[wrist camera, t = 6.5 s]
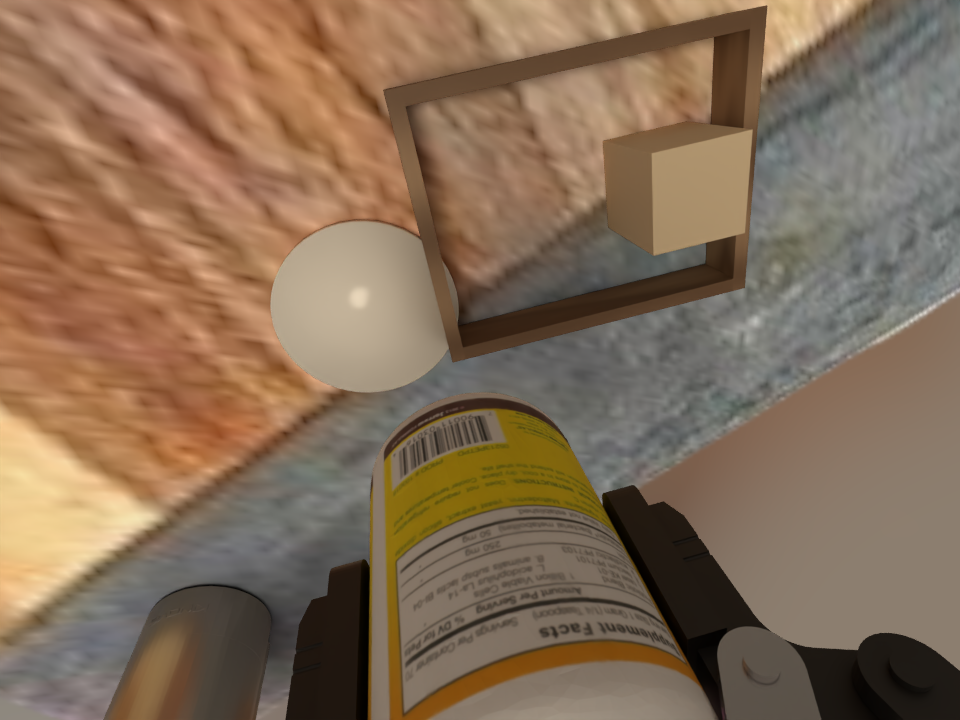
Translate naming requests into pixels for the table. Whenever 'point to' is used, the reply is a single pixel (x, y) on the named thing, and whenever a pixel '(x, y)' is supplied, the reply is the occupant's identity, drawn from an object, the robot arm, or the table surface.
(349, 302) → the coaster
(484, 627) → the supplement bottle
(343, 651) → the robot arm
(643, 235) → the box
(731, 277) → the wooden frame
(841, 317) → the table surface
